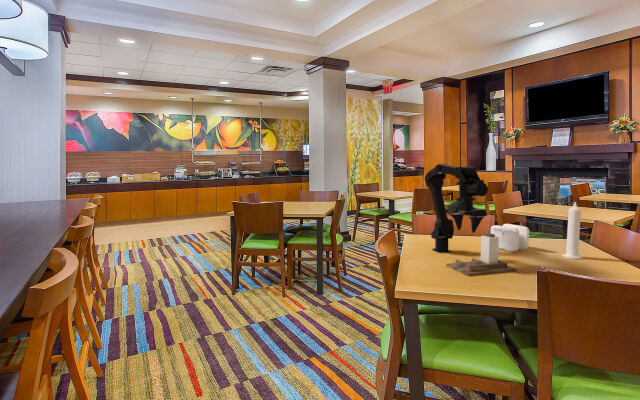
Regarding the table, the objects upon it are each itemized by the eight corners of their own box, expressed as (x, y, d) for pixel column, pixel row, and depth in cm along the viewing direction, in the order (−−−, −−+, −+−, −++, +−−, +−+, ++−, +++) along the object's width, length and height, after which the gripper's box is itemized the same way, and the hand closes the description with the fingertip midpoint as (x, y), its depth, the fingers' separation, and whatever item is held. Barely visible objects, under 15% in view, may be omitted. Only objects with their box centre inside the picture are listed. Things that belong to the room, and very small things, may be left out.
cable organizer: (530, 251, 176) (531, 227, 175) (515, 253, 171) (516, 229, 170) (503, 245, 189) (504, 223, 188) (488, 247, 185) (489, 224, 184)
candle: (579, 256, 166) (583, 201, 163) (583, 259, 159) (586, 203, 157) (561, 254, 169) (564, 200, 166) (564, 258, 162) (567, 202, 160)
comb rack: (446, 266, 151) (446, 259, 151) (491, 262, 157) (491, 255, 157) (468, 275, 138) (468, 268, 138) (516, 271, 143) (517, 263, 143)
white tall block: (480, 264, 150) (481, 233, 148) (489, 263, 151) (490, 232, 150) (488, 267, 145) (489, 235, 144) (497, 266, 147) (498, 234, 146)
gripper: (437, 195, 165) (437, 229, 165) (465, 197, 147) (465, 235, 148) (457, 194, 168) (457, 228, 169) (487, 196, 150) (487, 233, 151)
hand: (466, 231), depth 159 cm, fingers open, 9 cm apart
